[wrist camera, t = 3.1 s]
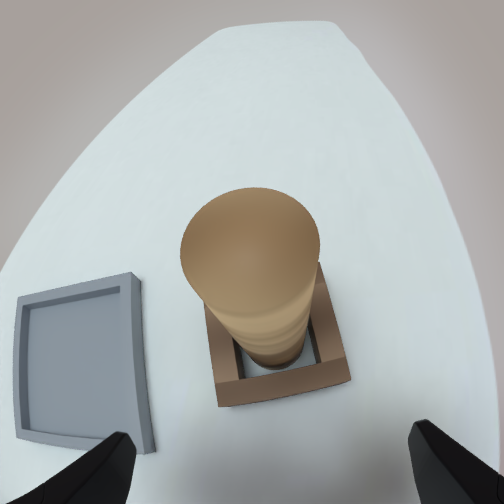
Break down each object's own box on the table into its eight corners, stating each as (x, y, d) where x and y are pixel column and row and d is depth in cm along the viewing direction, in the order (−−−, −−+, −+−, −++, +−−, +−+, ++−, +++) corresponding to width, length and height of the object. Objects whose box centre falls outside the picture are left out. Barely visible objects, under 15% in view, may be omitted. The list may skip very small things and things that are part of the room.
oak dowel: (308, 363, 20) (337, 292, 8) (252, 375, 20) (185, 323, 8) (296, 310, 22) (299, 176, 10) (242, 321, 22) (177, 203, 10)
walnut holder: (343, 383, 19) (351, 379, 16) (228, 406, 19) (218, 406, 16) (316, 279, 23) (319, 261, 20) (212, 301, 23) (201, 286, 20)
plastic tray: (155, 451, 18) (144, 454, 16) (29, 438, 18) (16, 437, 16) (140, 280, 24) (131, 271, 23) (29, 303, 25) (17, 297, 23)
